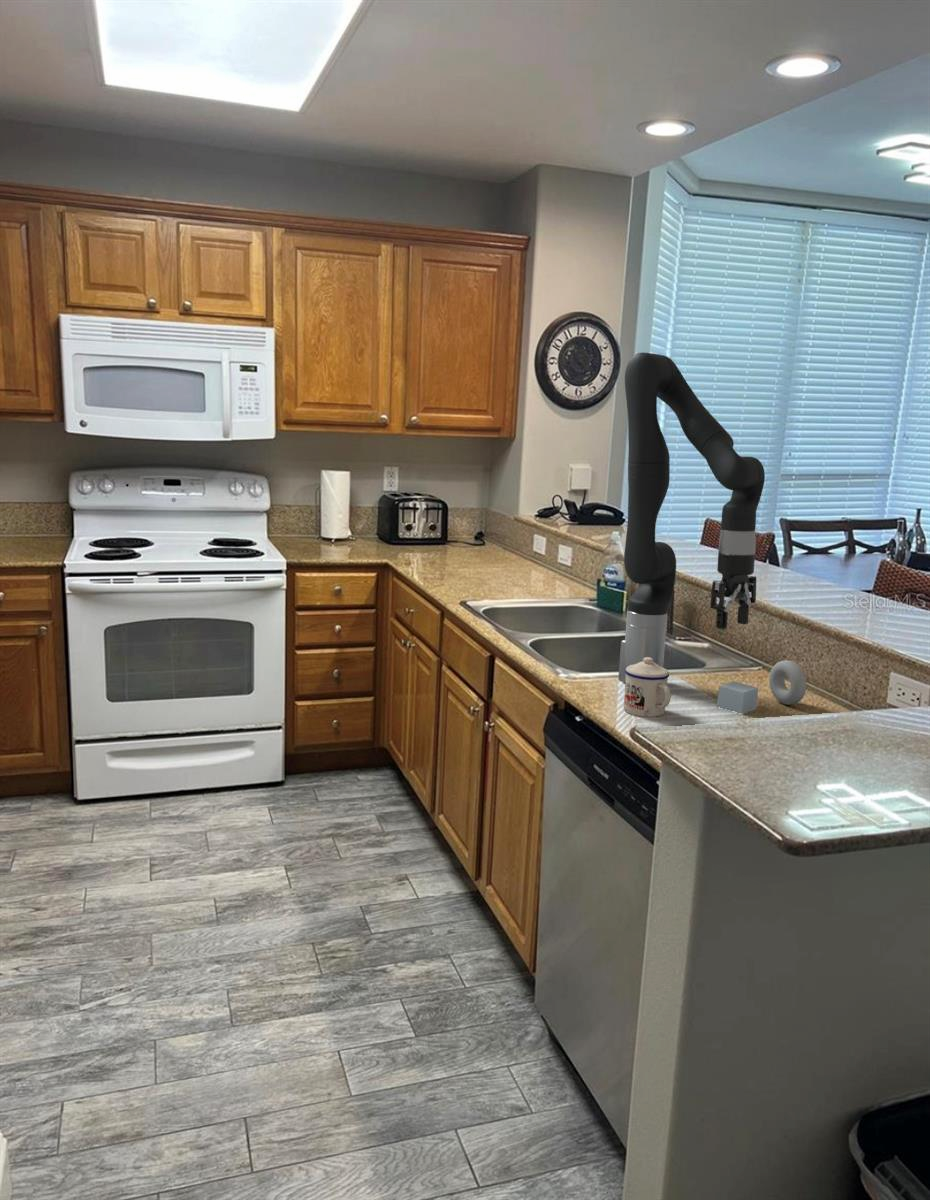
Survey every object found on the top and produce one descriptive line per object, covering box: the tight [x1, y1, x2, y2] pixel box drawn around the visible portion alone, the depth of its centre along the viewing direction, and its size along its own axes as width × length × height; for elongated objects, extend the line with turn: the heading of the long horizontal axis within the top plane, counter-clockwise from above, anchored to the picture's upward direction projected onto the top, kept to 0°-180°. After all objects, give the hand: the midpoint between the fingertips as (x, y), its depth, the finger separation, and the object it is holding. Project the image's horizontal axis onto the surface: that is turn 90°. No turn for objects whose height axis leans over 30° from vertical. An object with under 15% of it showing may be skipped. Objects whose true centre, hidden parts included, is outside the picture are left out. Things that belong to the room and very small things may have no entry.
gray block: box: [716, 681, 759, 715], centre depth 199 cm, size 6×6×5 cm
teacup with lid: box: [623, 657, 672, 718], centre depth 193 cm, size 12×9×12 cm
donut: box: [768, 659, 808, 706], centre depth 203 cm, size 10×4×10 cm, turn 24°
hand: (732, 626), depth 198 cm, fingers open, 8 cm apart
